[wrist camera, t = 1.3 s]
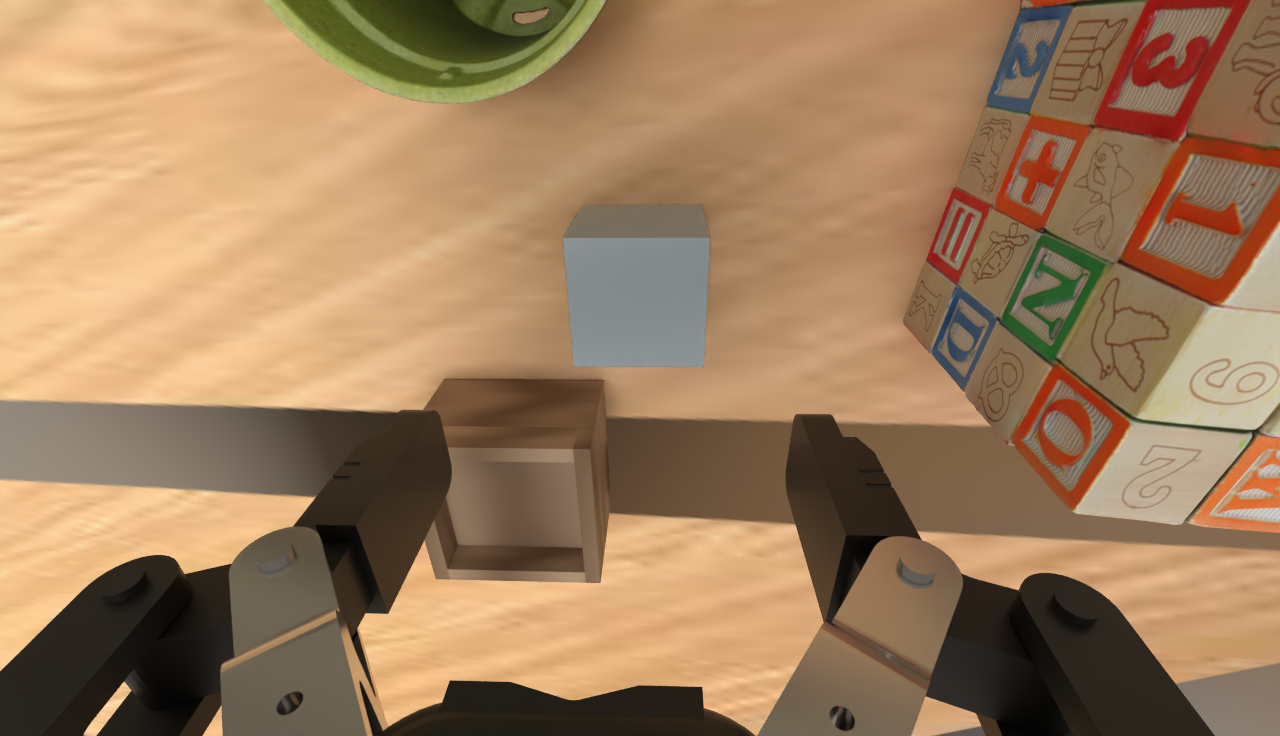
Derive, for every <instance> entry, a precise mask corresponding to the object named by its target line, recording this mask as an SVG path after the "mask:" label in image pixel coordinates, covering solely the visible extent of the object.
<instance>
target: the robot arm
mask: <svg viewBox="0 0 1280 736" xmlns="http://www.w3.org/2000/svg"><path fill="white" fill-rule="evenodd" d="M451 478H452V465H451V460H450V456H449V451H448V447H447V443H446V438H445V434H444V430H443V425H442V421H441V417H440V415H439V413H438V412H437V411H436V410H401V411H400V412H398V414H397V415H396V416H395V418H394V419H393V420H392V422H391V423H390V424H389V426H388V427H387V428H386V430H385V431H384V432H376V433H374V434H373V435H371V436H370V437H368V438H367V439H366V440H364V441H363V442H361V443H360V444H358V445H357V446H356V447H355V448H354V450H353V451H352V452H351V454H350V455H349V456H348V457H347V459H346V460H345V461H344V465H342V466H340V467H339V469H338V470H337V471H336V473H335V474H334V475H333V479H330V480H329V482H328V483H327V484H326V485H325V487H324V488H323V489H322V491H321V492H320V493H319V494H318V495H317V497H316V498H315V499H314V501H313V502H312V503H311V504H310V506H309V507H308V508H307V509H306V511H305V512H304V513H303V515H302V516H301V517H300V518H299V520H298V521H297V522H296V523H295V525H294V526H293V527H288V528H283V529H279V530H276V531H273V532H271V533H269V534H266V535H264V536H262V537H260V538H259V539H257V540H255V541H254V542H252V543H251V544H249V545H248V546H247V547H246V548H244V549H243V550H242V551H241V552H240V553H239V554H238V556H237V557H236V558H235V559H234V561H233V563H232V564H228V565H224V566H219V567H215V568H210V569H206V570H201V571H197V572H193V573H188V574H184V572H183V571H182V569H181V568H180V566H179V564H178V563H177V561H176V560H175V559H174V558H172V557H170V556H165V555H152V556H146V557H141V558H138V559H135V560H132V561H129V562H126V563H124V564H122V565H119V566H117V567H115V568H113V569H111V570H110V571H108V572H106V573H104V574H103V575H101V576H100V577H98V578H97V579H96V580H94V581H93V582H92V583H90V584H89V585H88V586H87V587H86V588H85V589H84V590H82V591H81V592H80V593H79V594H78V595H77V596H76V597H75V598H74V599H73V600H72V601H71V602H70V603H69V604H68V605H67V606H66V607H65V608H64V609H63V610H62V611H61V612H60V613H59V614H58V615H57V616H56V617H55V618H54V619H53V620H52V621H51V622H50V623H49V624H48V625H47V626H46V627H45V628H44V629H43V630H42V631H41V632H40V633H39V634H38V635H37V636H36V637H35V638H34V639H33V640H32V641H31V642H30V643H29V644H28V645H27V646H26V647H25V648H24V649H23V650H22V651H21V652H20V653H19V654H18V655H16V656H15V657H14V658H13V659H12V660H11V661H10V662H9V663H8V664H7V665H6V666H5V667H4V668H3V669H2V670H1V671H0V736H83V734H84V732H85V731H86V729H87V727H88V726H89V725H90V723H91V722H92V721H93V719H94V718H95V717H96V716H97V714H98V713H99V712H100V711H101V709H102V708H103V707H104V706H105V704H106V703H107V702H108V701H109V699H110V698H111V697H112V696H113V694H114V693H115V692H116V691H117V689H118V688H119V687H120V686H121V684H122V683H123V682H124V681H125V683H126V684H127V685H128V686H129V688H130V689H131V690H132V691H131V692H130V693H129V695H128V696H127V697H126V699H125V700H124V701H123V702H122V704H121V705H120V706H119V708H118V709H117V710H116V711H115V713H114V714H113V715H112V717H111V718H110V719H109V720H108V722H107V723H106V724H105V726H104V727H103V728H102V729H101V731H100V732H99V733H98V735H97V736H202V735H203V734H204V732H205V731H206V729H207V727H208V726H209V724H210V723H211V721H212V719H213V718H214V716H215V715H216V713H217V711H218V710H219V708H220V706H221V705H222V728H223V736H755V735H754V734H753V733H751V732H750V731H749V730H748V729H746V728H745V727H743V726H742V725H740V724H738V723H737V722H735V721H733V720H732V719H730V718H728V717H726V716H723V715H721V714H719V713H717V712H714V711H711V710H708V709H705V708H704V707H703V691H702V687H679V686H640V685H639V686H635V687H631V688H627V689H623V690H618V691H614V692H610V693H606V694H602V695H597V696H593V697H589V698H585V699H581V700H567V699H563V698H560V697H557V696H554V695H550V694H547V693H544V692H541V691H538V690H535V689H531V688H528V687H525V686H522V685H519V684H515V683H512V682H486V681H450V682H449V685H448V687H447V690H446V693H445V696H444V699H443V702H442V703H438V704H435V705H432V706H429V707H426V708H424V709H421V710H418V711H416V712H414V713H412V714H410V715H408V716H406V717H404V718H402V719H401V720H399V721H397V722H396V723H394V724H392V725H391V726H389V727H388V724H387V722H386V719H385V716H384V713H383V709H382V706H381V703H380V699H379V696H378V692H377V689H376V685H375V682H374V679H373V675H372V672H371V668H370V665H369V661H368V658H367V654H366V651H365V647H364V644H363V641H362V637H361V634H360V632H359V629H358V626H359V624H360V622H361V620H362V619H363V617H364V615H365V613H381V614H388V613H389V611H390V609H391V607H392V605H393V603H394V601H395V599H396V597H397V595H398V593H399V591H400V589H401V587H402V585H403V582H404V580H405V578H406V576H407V574H408V572H409V570H410V568H411V566H412V564H413V562H414V560H415V558H416V556H417V554H418V552H419V550H420V548H421V546H422V544H423V542H424V540H425V538H426V536H427V534H428V532H429V530H430V527H431V525H432V523H433V521H434V519H435V517H436V515H437V513H438V511H439V509H440V507H441V505H442V503H443V501H444V499H445V497H446V495H447V493H448V491H449V488H450V484H451ZM786 490H787V496H788V500H789V503H790V506H791V510H792V513H793V517H794V520H795V524H796V527H797V531H798V534H799V538H800V541H801V545H802V548H803V552H804V555H805V559H806V562H807V566H808V569H809V572H810V576H811V579H812V583H813V586H814V590H815V593H816V597H817V600H818V604H819V607H820V611H821V614H822V618H823V621H824V623H823V624H822V626H821V627H820V629H819V631H818V632H817V634H816V636H815V637H814V639H813V641H812V643H811V644H810V646H809V648H808V649H807V651H806V653H805V655H804V656H803V658H802V660H801V661H800V663H799V665H798V667H797V668H796V670H795V672H794V673H793V675H792V677H791V679H790V680H789V682H788V684H787V685H786V687H785V689H784V691H783V692H782V694H781V696H780V698H779V699H778V701H777V703H776V704H775V706H774V708H773V710H772V711H771V713H770V715H769V716H768V718H767V720H766V722H765V723H764V725H763V727H762V728H761V730H760V732H759V734H758V735H757V736H911V735H912V732H913V729H914V726H915V724H916V721H917V718H918V715H919V712H920V710H921V707H922V704H923V701H924V698H925V696H927V697H930V698H933V699H936V700H939V701H941V702H944V703H947V704H950V705H953V706H956V707H959V708H962V709H965V710H968V711H971V712H974V713H976V714H977V716H978V719H979V721H980V723H981V726H982V728H983V730H984V732H985V735H986V736H1215V735H1214V734H1213V733H1212V731H1211V730H1210V729H1209V727H1208V726H1207V725H1206V723H1205V722H1204V721H1203V720H1202V718H1201V717H1200V716H1199V714H1198V713H1197V712H1196V710H1195V709H1194V708H1193V706H1192V705H1191V704H1190V702H1189V701H1188V700H1187V698H1186V697H1185V696H1184V695H1183V693H1182V692H1181V691H1180V689H1179V688H1178V687H1177V685H1176V684H1175V683H1174V681H1173V680H1172V679H1171V677H1170V676H1169V675H1168V673H1167V672H1166V671H1165V669H1164V668H1163V667H1162V666H1161V664H1160V663H1159V662H1158V660H1157V659H1156V658H1155V656H1154V655H1153V654H1152V652H1151V651H1150V650H1149V648H1148V647H1147V646H1146V644H1145V643H1144V642H1143V640H1142V639H1141V638H1140V637H1139V635H1138V634H1137V633H1136V631H1135V630H1134V629H1133V627H1132V626H1131V625H1130V623H1129V622H1128V621H1127V619H1126V618H1125V617H1124V615H1123V614H1122V613H1121V612H1120V611H1119V609H1118V608H1117V607H1116V606H1115V605H1114V604H1113V603H1112V602H1111V601H1110V600H1109V599H1107V598H1106V597H1105V596H1103V595H1102V594H1101V593H1099V592H1098V591H1096V590H1095V589H1093V588H1091V587H1090V586H1088V585H1086V584H1084V583H1082V582H1080V581H1077V580H1075V579H1072V578H1069V577H1066V576H1063V575H1058V574H1052V573H1038V574H1034V575H1031V576H1029V577H1027V578H1026V579H1025V580H1024V581H1023V583H1022V584H1021V586H1020V588H1019V590H1015V589H1011V588H1007V587H1004V586H1000V585H996V584H992V583H989V582H985V581H981V580H977V579H974V578H971V577H968V576H966V575H963V574H961V572H960V570H959V568H958V567H957V565H956V564H955V563H954V561H953V560H952V559H951V558H950V557H949V556H948V555H947V554H945V553H944V552H943V551H942V550H940V549H938V548H937V547H935V546H934V545H932V544H930V543H928V542H925V541H922V540H921V538H920V536H919V534H918V532H917V531H916V529H915V527H914V525H913V523H912V521H911V520H910V518H909V516H908V514H907V512H906V510H905V508H904V507H903V505H902V503H901V501H900V499H899V498H898V496H897V494H896V492H895V490H894V488H892V487H891V482H890V481H889V479H888V477H887V475H886V474H885V473H884V470H883V468H882V466H881V464H880V462H879V460H878V459H877V457H876V455H875V453H874V452H873V451H872V450H871V449H870V448H868V447H867V446H866V445H865V444H864V443H863V442H861V441H860V440H859V439H858V438H856V437H843V436H842V434H841V433H840V430H839V428H838V426H837V424H836V422H835V420H834V418H833V416H832V415H830V414H796V415H795V417H794V421H793V427H792V433H791V439H790V446H789V453H788V460H787V466H786Z"/></svg>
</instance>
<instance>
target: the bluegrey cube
mask: <svg viewBox="0 0 1280 736" xmlns="http://www.w3.org/2000/svg"><path fill="white" fill-rule="evenodd" d="M563 245H564V257H565V269H566V281H567V293H568V305H569V317H570V329H571V340H572V352H573V364H574V366H589V367H704V356H705V335H706V315H707V294H708V274H709V253H710V235H709V231H708V227H707V223H706V219H705V215H704V211H703V207H702V204H696V205H582V206H581V208H580V209H579V211H578V213H577V215H576V216H575V218H574V220H573V222H572V223H571V225H570V227H569V228H568V230H567V232H566V234H565V235H564V237H563Z"/></svg>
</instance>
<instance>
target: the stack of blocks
mask: <svg viewBox="0 0 1280 736" xmlns="http://www.w3.org/2000/svg"><path fill="white" fill-rule="evenodd" d="M1021 8H1022V10H1021V12H1020V14H1019V16H1018V18H1017V21H1016V23H1015V26H1014V29H1013V31H1012V34H1011V37H1010V40H1009V43H1008V46H1007V48H1006V51H1005V53H1004V56H1003V59H1002V61H1001V64H1000V67H999V70H998V72H997V75H996V78H995V80H994V83H993V86H992V88H991V91H990V93H989V96H988V99H987V106H986V108H985V110H984V112H983V114H982V117H981V119H980V122H979V125H978V128H977V130H976V133H975V136H974V139H973V141H972V144H971V146H970V149H969V152H968V155H967V158H966V160H965V163H964V165H963V168H962V171H961V174H960V176H959V179H958V182H957V185H956V187H955V188H954V189H953V191H952V193H951V196H950V198H949V201H948V203H947V206H946V209H945V211H944V214H943V217H942V220H941V222H940V225H939V228H938V230H937V233H936V235H935V238H934V241H933V244H932V246H931V249H930V252H929V255H928V257H927V261H926V263H925V264H924V266H923V269H922V272H921V274H920V277H919V280H918V282H917V285H916V287H915V290H914V293H913V296H912V298H911V301H910V304H909V306H908V309H907V312H906V314H905V317H904V322H903V323H904V325H905V326H906V327H907V328H908V329H909V330H910V331H911V332H912V334H913V335H914V336H915V337H916V338H917V339H918V341H919V342H920V343H921V344H922V345H923V346H924V348H925V349H926V350H928V351H929V353H932V354H933V356H934V357H935V358H936V360H937V361H938V362H939V363H940V364H941V366H942V367H943V368H944V369H945V370H946V371H947V372H948V373H949V375H950V376H951V377H952V378H953V379H954V381H955V382H956V383H957V384H958V386H959V387H960V388H961V389H962V390H963V391H964V392H965V393H966V397H967V398H968V400H969V401H970V402H971V403H972V404H973V405H974V406H975V408H976V410H977V411H978V412H979V413H980V414H981V415H982V416H983V417H984V419H985V420H986V421H987V422H988V423H989V424H990V425H991V426H992V427H993V429H994V430H995V431H996V433H998V434H999V435H1000V437H1001V438H1002V439H1003V440H1004V441H1005V443H1007V444H1008V445H1009V446H1015V447H1016V449H1017V450H1018V451H1019V452H1020V454H1021V455H1022V456H1023V457H1024V458H1025V459H1026V461H1027V462H1028V463H1029V464H1030V465H1031V466H1032V468H1033V469H1034V470H1035V471H1036V472H1037V473H1038V475H1039V476H1040V477H1041V478H1042V479H1043V480H1044V481H1045V483H1046V484H1047V485H1048V486H1049V487H1050V488H1051V490H1052V491H1053V492H1054V493H1055V494H1056V495H1057V496H1058V498H1059V499H1060V500H1061V501H1062V502H1063V503H1064V504H1065V505H1066V506H1067V507H1068V508H1069V509H1070V510H1071V511H1072V512H1074V513H1077V514H1084V515H1095V516H1105V517H1114V518H1124V519H1134V520H1144V521H1151V522H1159V523H1166V524H1175V525H1176V524H1177V525H1178V524H1182V523H1183V521H1186V522H1187V523H1190V524H1193V525H1198V526H1203V527H1215V528H1216V527H1217V528H1227V529H1238V530H1249V531H1262V532H1275V533H1280V0H1022V2H1021Z"/></svg>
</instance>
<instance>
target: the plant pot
mask: <svg viewBox="0 0 1280 736" xmlns="http://www.w3.org/2000/svg"><path fill="white" fill-rule="evenodd" d="M263 1H264V2H265V3H266V4H267V6H268V7H269V8H270V9H271V10H272V11H273V12H274V13H275V15H276V16H277V17H278V18H279V19H280V20H281V21H282V22H283V23H284V24H285V25H286V26H287V28H288V29H289V30H290V31H291V32H293V33H294V34H295V35H296V36H297V37H298V38H299V39H300V40H301V41H302V42H303V43H305V44H306V45H307V46H308V47H310V48H311V49H312V50H314V51H315V52H316V53H317V54H318V55H320V56H321V57H322V58H324V59H325V60H327V61H328V62H330V63H331V64H333V65H334V66H336V67H337V68H339V69H340V70H342V71H343V72H345V73H347V74H348V75H350V76H352V77H353V78H355V79H357V80H359V81H360V82H362V83H364V84H366V85H369V86H371V87H373V88H375V89H377V90H380V91H382V92H385V93H388V94H391V95H394V96H398V97H402V98H406V99H410V100H414V101H420V102H428V103H446V104H449V103H453V104H459V103H468V102H475V101H481V100H486V99H490V98H493V97H497V96H500V95H503V94H506V93H508V92H512V91H514V90H516V89H518V88H520V87H522V86H523V85H525V84H527V83H529V82H531V81H533V80H534V79H536V78H537V77H539V76H540V75H542V74H543V73H545V72H546V71H548V70H549V69H550V68H551V67H552V66H554V65H555V64H556V63H557V62H558V61H560V60H561V59H562V58H563V57H564V56H565V55H566V54H567V53H568V52H569V51H570V50H571V49H572V48H573V47H574V46H575V45H576V44H577V42H578V41H579V40H580V39H581V38H582V36H583V35H584V34H585V33H586V31H587V30H588V29H589V27H590V26H591V24H592V23H593V22H594V20H595V19H596V17H597V16H598V14H599V13H600V11H601V9H602V8H603V6H604V4H605V3H606V1H607V0H263ZM545 7H547V8H549V11H548V14H547V15H546V16H545V17H544V18H542V19H540V20H538V21H536V22H533V23H529V24H519V23H516V22H515V21H513V18H512V15H513V14H514V13H515V12H530V11H535V10H538V9H543V8H545Z"/></svg>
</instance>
